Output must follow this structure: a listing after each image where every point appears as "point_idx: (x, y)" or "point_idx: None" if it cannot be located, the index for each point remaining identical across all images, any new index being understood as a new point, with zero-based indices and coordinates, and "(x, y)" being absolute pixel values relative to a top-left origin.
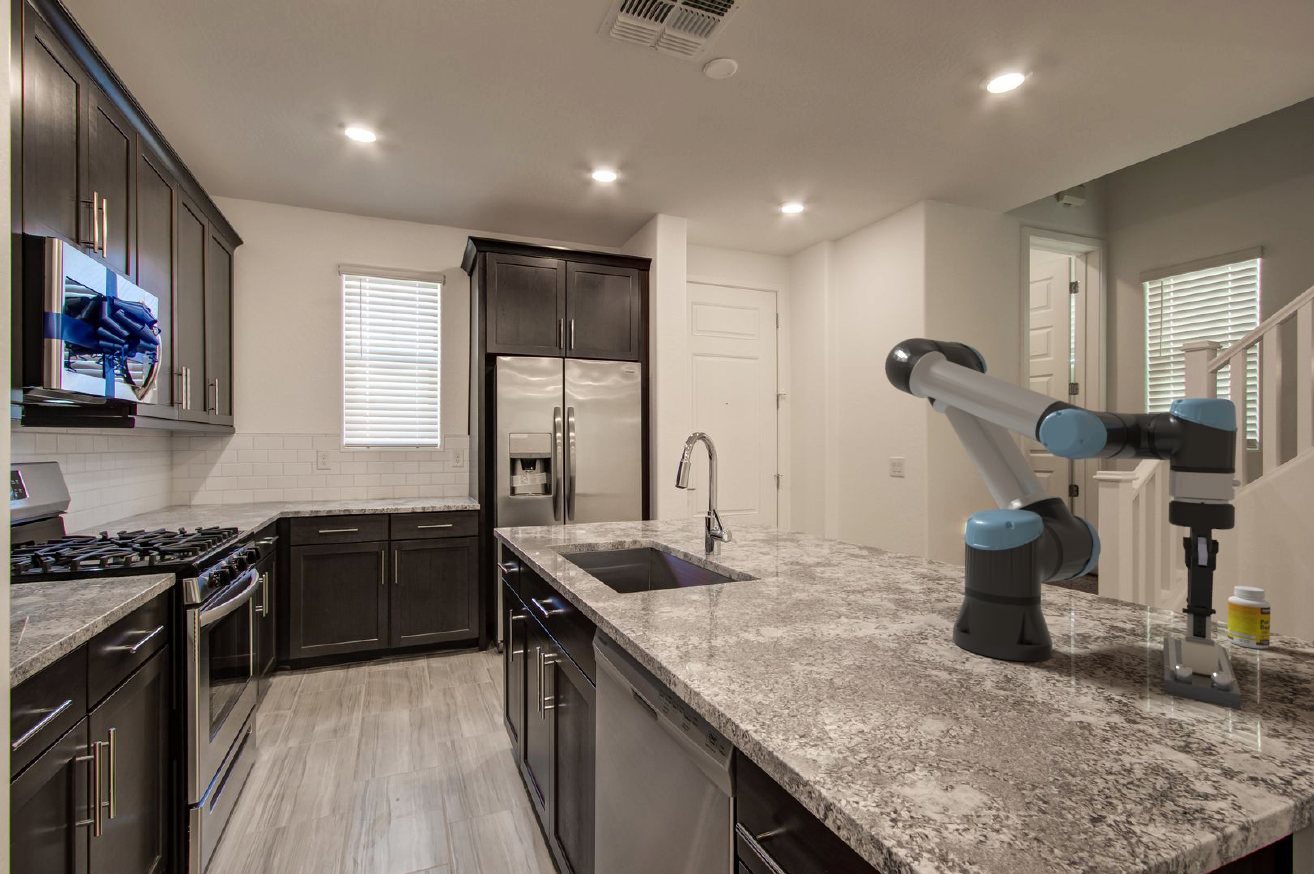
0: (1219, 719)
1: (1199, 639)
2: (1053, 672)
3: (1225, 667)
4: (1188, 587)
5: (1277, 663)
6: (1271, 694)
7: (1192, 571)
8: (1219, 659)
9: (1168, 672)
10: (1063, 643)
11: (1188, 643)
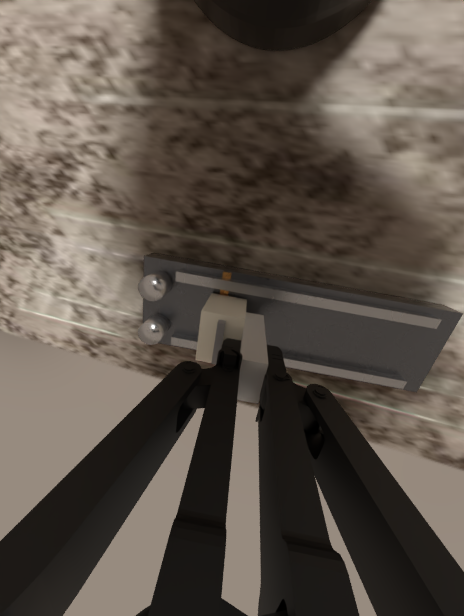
0: (93, 296)
1: (214, 343)
2: (145, 55)
3: None
4: (290, 426)
5: (410, 432)
6: None
7: (41, 502)
8: (293, 359)
9: (192, 269)
10: (414, 87)
11: (200, 319)
